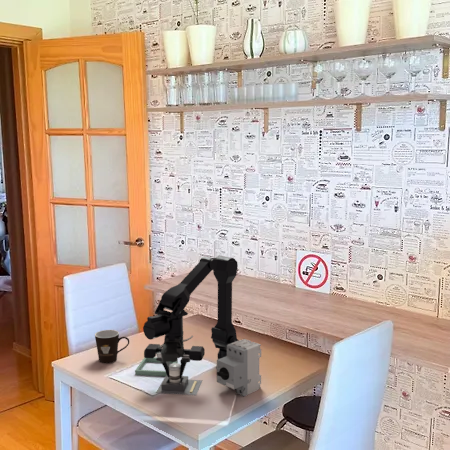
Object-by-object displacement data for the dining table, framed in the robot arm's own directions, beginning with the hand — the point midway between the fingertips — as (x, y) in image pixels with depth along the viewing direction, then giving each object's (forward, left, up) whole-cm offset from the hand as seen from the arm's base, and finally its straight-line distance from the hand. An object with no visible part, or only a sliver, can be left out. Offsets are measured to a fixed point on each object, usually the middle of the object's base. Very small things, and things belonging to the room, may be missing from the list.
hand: (174, 377), depth 185 cm
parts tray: (+10, -13, -4) cm, 17 cm away
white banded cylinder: (0, 0, -3) cm, 3 cm away
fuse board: (-1, 0, -4) cm, 4 cm away
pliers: (+10, -41, -5) cm, 42 cm away
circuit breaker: (-20, -1, -4) cm, 21 cm away
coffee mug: (+29, -20, -4) cm, 35 cm away
